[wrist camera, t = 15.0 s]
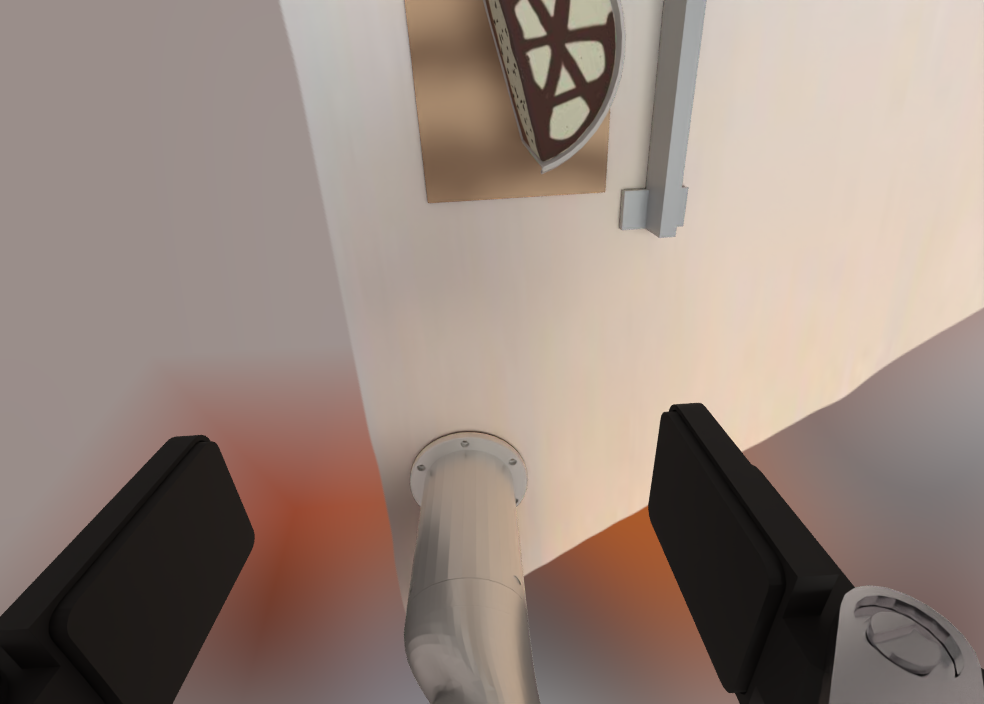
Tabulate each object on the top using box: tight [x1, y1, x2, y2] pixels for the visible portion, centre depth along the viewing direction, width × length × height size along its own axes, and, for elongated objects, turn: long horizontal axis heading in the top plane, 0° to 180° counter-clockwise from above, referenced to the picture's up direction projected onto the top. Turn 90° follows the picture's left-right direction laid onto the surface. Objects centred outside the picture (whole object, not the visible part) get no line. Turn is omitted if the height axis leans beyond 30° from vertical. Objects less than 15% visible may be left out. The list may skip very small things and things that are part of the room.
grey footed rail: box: [619, 0, 706, 238], centre depth 30 cm, size 24×5×4 cm, turn 3°
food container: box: [483, 0, 626, 174], centre depth 27 cm, size 12×6×10 cm, turn 18°
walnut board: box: [405, 0, 610, 203], centre depth 32 cm, size 18×14×1 cm
